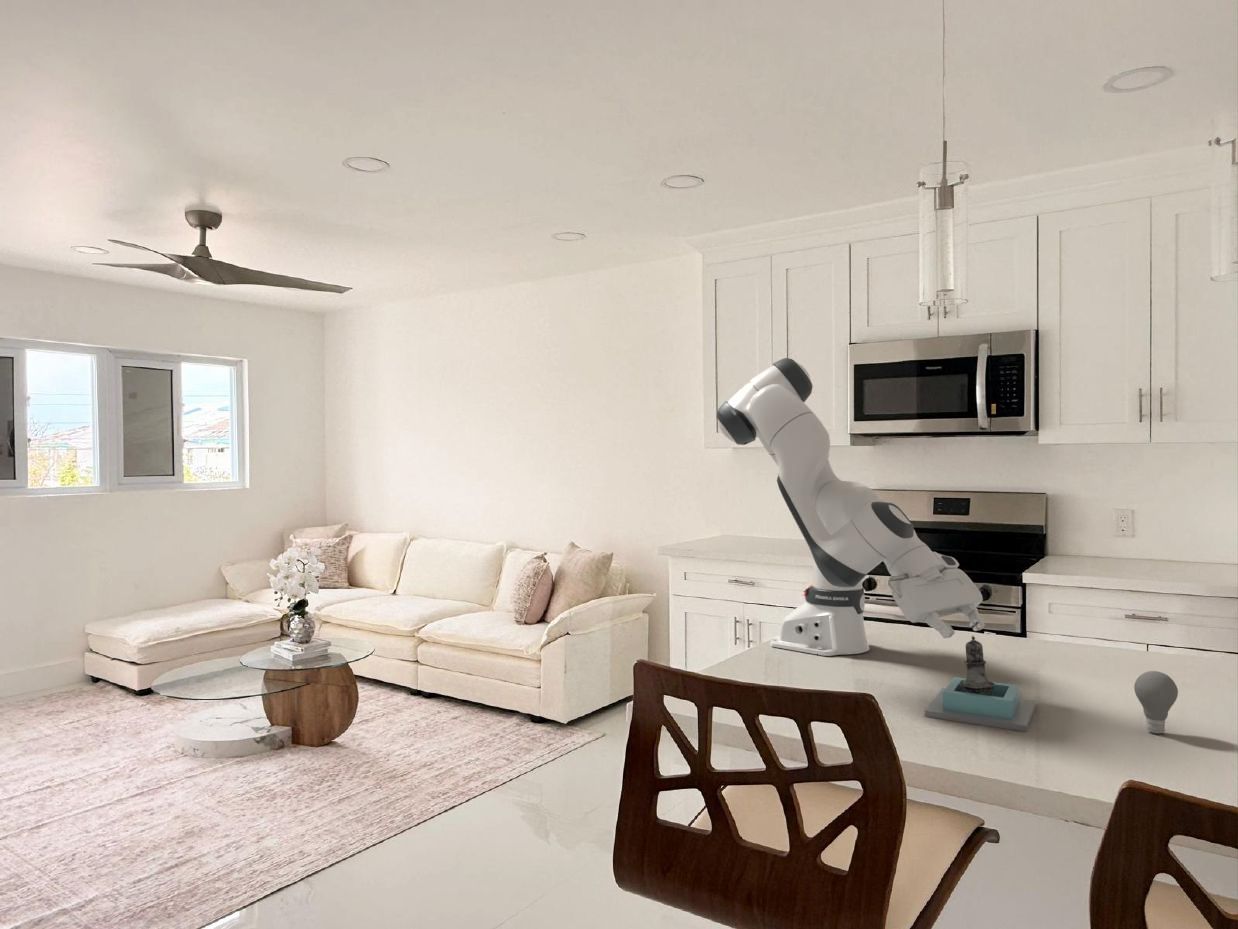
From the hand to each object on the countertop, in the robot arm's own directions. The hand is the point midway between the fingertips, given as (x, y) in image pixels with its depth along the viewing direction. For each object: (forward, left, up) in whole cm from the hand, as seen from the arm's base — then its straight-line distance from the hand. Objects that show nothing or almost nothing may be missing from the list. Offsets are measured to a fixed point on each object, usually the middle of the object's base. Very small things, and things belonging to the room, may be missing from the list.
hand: (965, 632), depth 154 cm
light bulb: (+29, -1, -13) cm, 32 cm away
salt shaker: (+3, -3, -12) cm, 13 cm away
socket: (+3, -3, -13) cm, 14 cm away
